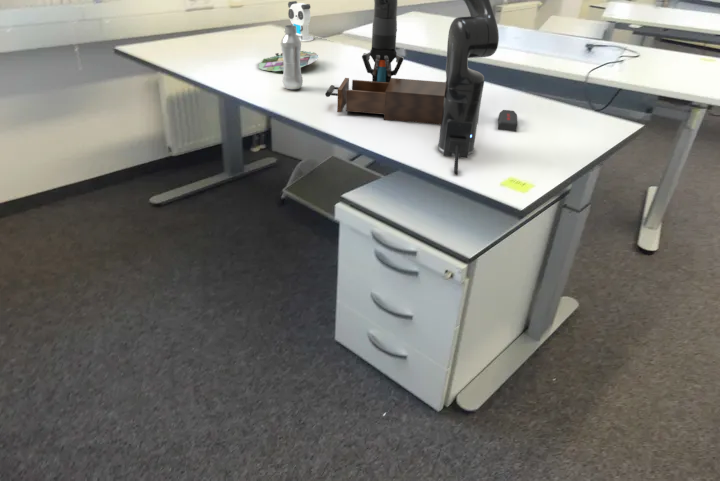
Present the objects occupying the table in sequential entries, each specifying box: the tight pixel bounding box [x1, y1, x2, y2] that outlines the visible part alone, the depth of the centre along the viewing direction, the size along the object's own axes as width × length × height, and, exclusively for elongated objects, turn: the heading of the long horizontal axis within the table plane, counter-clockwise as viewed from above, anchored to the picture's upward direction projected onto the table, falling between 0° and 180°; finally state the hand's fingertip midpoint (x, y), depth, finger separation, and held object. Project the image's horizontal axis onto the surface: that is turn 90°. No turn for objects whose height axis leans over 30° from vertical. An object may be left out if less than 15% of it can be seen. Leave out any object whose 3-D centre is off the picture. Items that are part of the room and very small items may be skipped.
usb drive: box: [497, 109, 518, 132], centre depth 161 cm, size 5×12×3 cm, turn 167°
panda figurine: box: [287, 0, 314, 43], centre depth 240 cm, size 12×11×15 cm
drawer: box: [325, 77, 389, 115], centre depth 165 cm, size 22×12×7 cm, turn 81°
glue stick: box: [377, 60, 387, 82], centre depth 176 cm, size 4×4×12 cm
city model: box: [258, 50, 319, 72], centre depth 205 cm, size 25×23×6 cm
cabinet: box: [383, 77, 446, 126], centre depth 163 cm, size 19×14×9 cm
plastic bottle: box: [280, 24, 304, 90], centre depth 178 cm, size 6×7×20 cm
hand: (381, 86), depth 178 cm, fingers closed on glue stick, 3 cm apart
